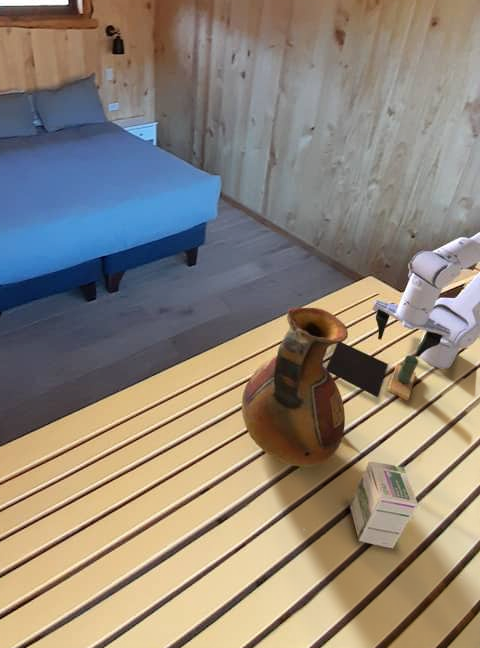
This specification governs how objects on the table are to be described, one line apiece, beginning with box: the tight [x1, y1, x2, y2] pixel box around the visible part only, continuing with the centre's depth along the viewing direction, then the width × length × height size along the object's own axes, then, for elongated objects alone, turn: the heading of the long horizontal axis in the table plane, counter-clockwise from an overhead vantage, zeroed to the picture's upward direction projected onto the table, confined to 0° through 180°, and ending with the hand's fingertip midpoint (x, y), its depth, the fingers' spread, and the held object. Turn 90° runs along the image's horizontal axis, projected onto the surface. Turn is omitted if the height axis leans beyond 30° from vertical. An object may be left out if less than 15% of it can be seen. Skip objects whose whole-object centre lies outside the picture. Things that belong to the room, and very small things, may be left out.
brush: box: [387, 354, 419, 402], centre depth 94 cm, size 9×4×10 cm, turn 138°
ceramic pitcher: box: [241, 306, 349, 467], centre depth 81 cm, size 20×20×30 cm
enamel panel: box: [325, 342, 389, 398], centre depth 100 cm, size 12×12×2 cm
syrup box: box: [349, 461, 419, 549], centre depth 69 cm, size 6×6×14 cm
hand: (398, 345), depth 95 cm, fingers open, 7 cm apart
